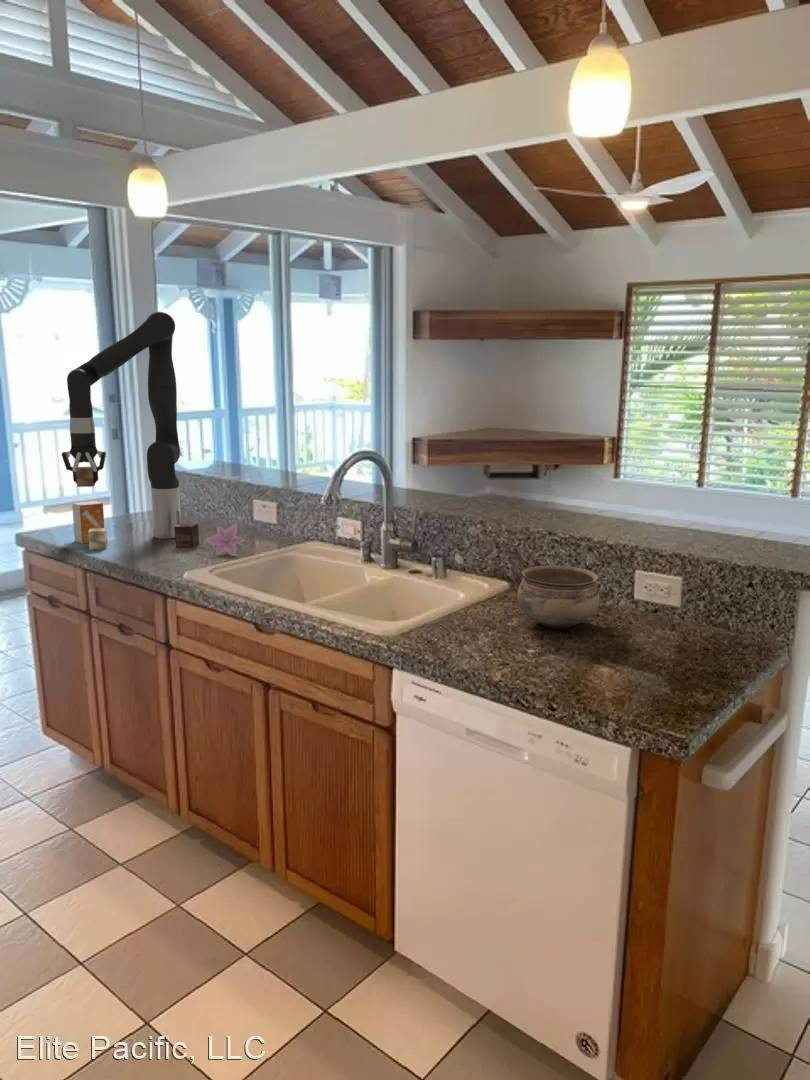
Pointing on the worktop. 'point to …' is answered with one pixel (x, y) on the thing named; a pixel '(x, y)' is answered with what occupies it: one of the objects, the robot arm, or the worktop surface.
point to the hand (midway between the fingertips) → (86, 482)
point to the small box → (87, 519)
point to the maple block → (97, 538)
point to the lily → (226, 540)
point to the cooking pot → (558, 595)
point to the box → (186, 535)
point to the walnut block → (84, 477)
